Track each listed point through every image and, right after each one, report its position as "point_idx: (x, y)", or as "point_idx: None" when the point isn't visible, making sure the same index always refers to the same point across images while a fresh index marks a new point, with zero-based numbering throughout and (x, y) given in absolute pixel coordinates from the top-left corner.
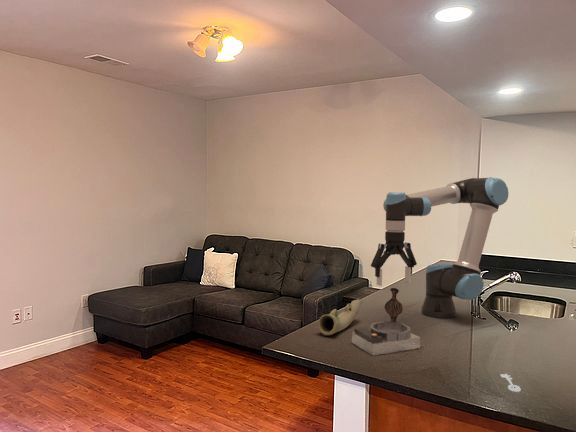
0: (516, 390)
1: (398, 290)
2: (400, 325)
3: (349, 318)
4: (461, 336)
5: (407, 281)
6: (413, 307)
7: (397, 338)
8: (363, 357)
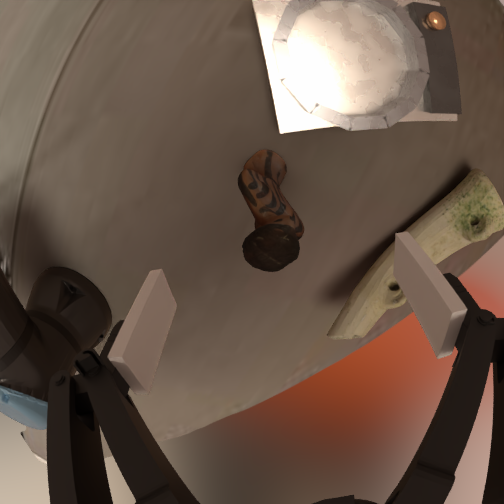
0: None
1: (248, 238)
2: (295, 76)
3: None
4: (68, 107)
5: (164, 289)
6: None
7: None
8: None
